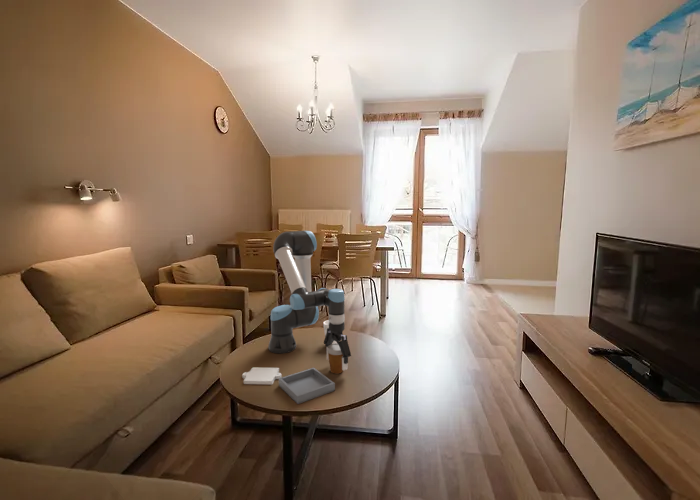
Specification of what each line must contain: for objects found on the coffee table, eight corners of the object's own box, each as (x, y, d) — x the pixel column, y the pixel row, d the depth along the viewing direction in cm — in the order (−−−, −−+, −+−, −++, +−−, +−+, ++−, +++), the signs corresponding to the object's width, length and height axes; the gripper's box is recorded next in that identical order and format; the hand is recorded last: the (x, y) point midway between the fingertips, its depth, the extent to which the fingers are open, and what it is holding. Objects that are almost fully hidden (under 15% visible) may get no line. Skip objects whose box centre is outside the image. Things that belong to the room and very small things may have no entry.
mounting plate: (238, 384, 163) (238, 380, 163) (247, 370, 176) (247, 367, 176) (277, 385, 163) (277, 381, 162) (284, 371, 175) (284, 367, 175)
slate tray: (278, 385, 161) (278, 378, 161) (314, 374, 172) (313, 367, 171) (297, 404, 147) (297, 396, 146) (334, 390, 157) (334, 383, 157)
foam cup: (339, 347, 202) (339, 325, 200) (323, 347, 202) (322, 325, 200) (340, 341, 211) (340, 319, 210) (324, 341, 212) (324, 319, 210)
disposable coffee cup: (344, 376, 170) (344, 351, 168) (324, 374, 172) (324, 350, 170) (348, 366, 179) (348, 343, 178) (329, 365, 181) (329, 342, 179)
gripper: (316, 316, 180) (317, 356, 183) (345, 331, 160) (345, 376, 163) (329, 313, 184) (329, 353, 187) (358, 327, 164) (358, 371, 167)
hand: (336, 364), depth 175 cm, fingers open, 13 cm apart
